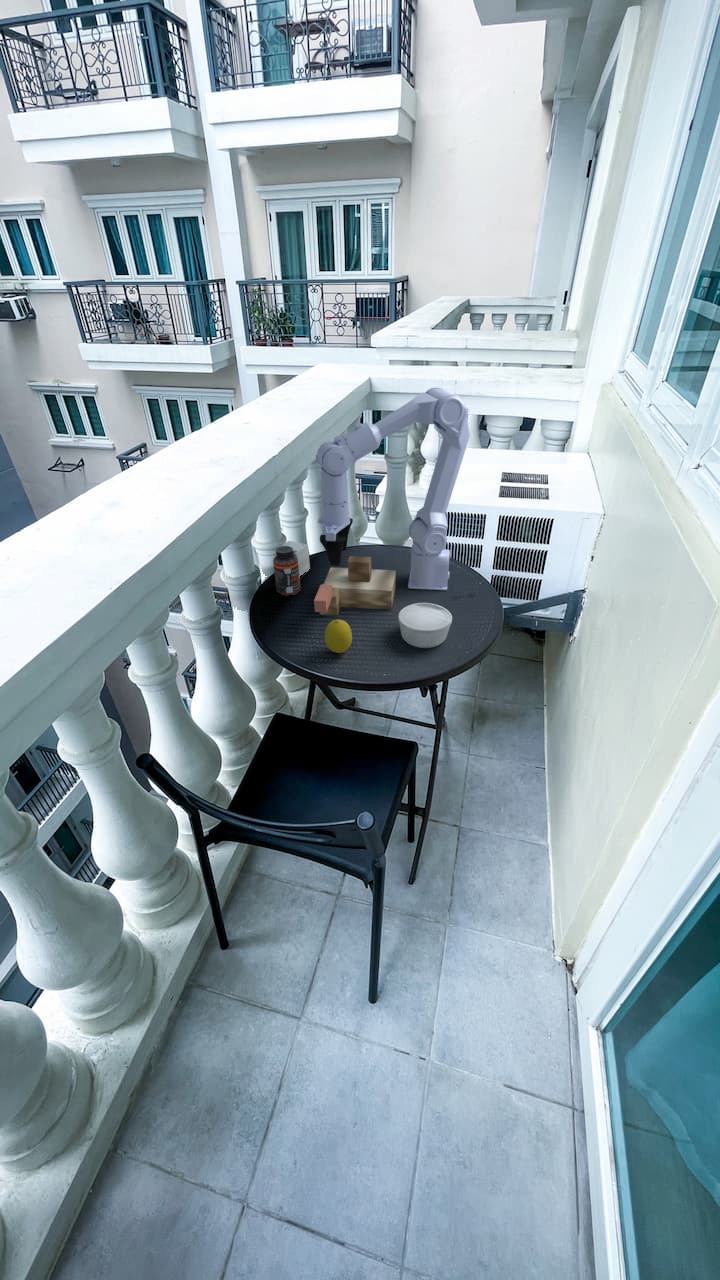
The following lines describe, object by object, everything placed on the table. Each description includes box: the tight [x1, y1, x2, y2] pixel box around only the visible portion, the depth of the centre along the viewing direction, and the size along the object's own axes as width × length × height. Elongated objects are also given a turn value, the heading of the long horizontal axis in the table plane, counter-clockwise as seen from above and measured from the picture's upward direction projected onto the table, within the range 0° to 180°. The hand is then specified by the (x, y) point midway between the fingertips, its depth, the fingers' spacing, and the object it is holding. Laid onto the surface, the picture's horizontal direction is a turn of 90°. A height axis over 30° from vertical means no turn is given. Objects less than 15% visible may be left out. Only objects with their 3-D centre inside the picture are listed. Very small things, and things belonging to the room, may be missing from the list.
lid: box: [323, 555, 397, 595], centre depth 127 cm, size 16×10×6 cm, turn 82°
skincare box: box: [281, 540, 311, 577], centre depth 140 cm, size 6×6×7 cm
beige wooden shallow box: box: [319, 575, 397, 617], centre depth 128 cm, size 16×14×5 cm
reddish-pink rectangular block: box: [313, 583, 333, 613], centre depth 117 cm, size 2×7×3 cm, turn 172°
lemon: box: [324, 619, 353, 654], centre depth 110 cm, size 6×6×8 cm
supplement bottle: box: [272, 545, 301, 597], centre depth 131 cm, size 6×6×11 cm
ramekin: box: [397, 602, 453, 649], centre depth 115 cm, size 11×11×5 cm
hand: (338, 557), depth 126 cm, fingers open, 7 cm apart
